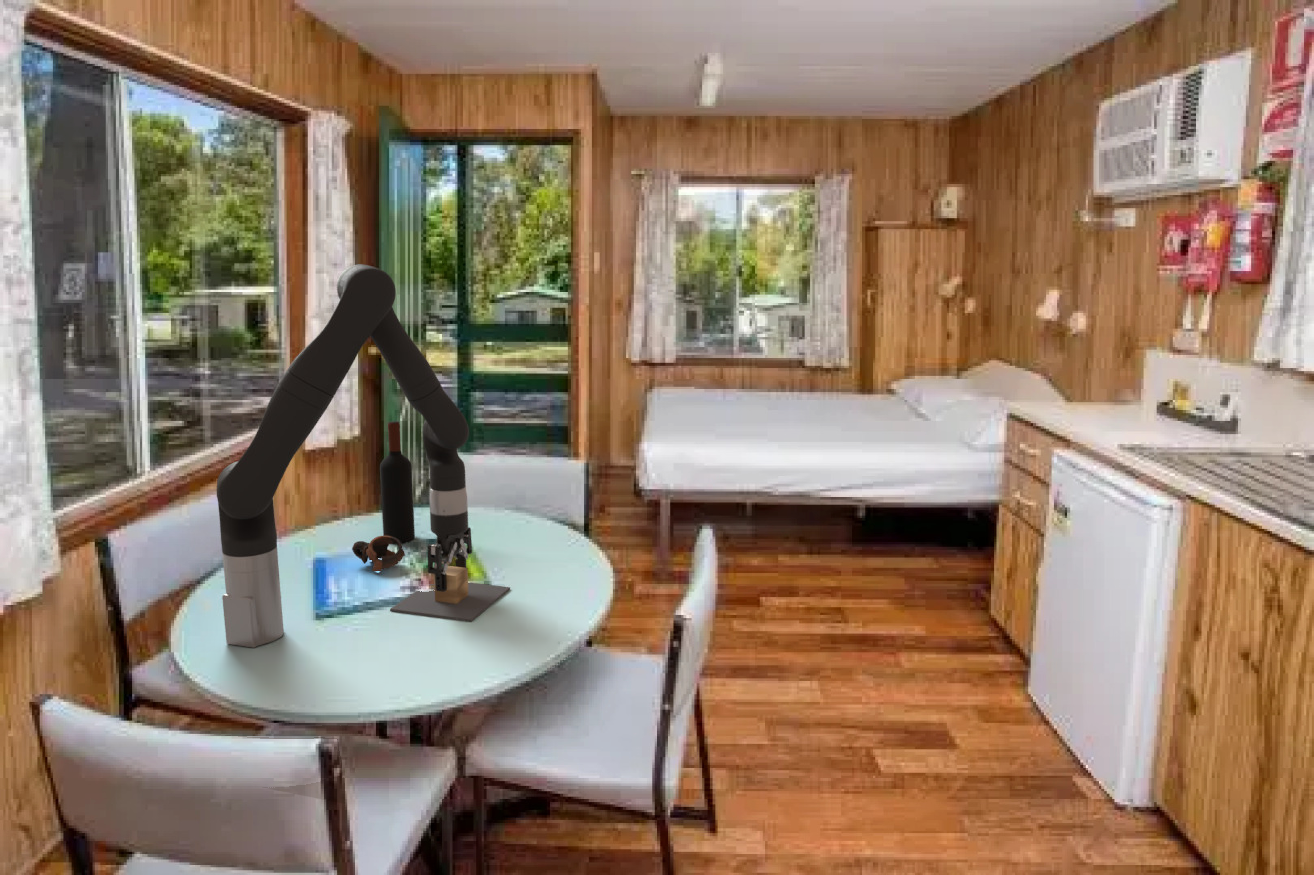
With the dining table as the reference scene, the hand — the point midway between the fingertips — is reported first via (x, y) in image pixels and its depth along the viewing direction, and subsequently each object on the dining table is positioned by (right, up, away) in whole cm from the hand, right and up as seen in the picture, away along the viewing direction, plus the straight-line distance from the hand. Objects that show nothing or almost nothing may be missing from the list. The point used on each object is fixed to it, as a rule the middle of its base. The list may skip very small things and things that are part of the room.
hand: (451, 583), depth 186 cm
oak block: (0, -3, 0) cm, 3 cm away
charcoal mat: (0, -4, +1) cm, 4 cm away
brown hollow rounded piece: (-21, 0, +20) cm, 29 cm away
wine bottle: (-22, +5, +39) cm, 45 cm away
